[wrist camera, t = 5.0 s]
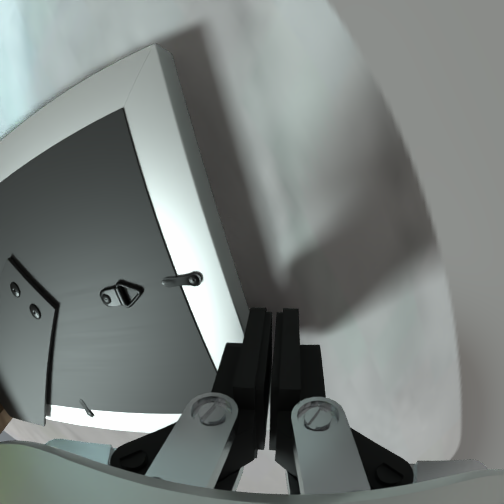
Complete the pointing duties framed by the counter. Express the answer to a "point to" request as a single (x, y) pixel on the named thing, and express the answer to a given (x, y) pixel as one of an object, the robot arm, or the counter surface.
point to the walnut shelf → (4, 418)
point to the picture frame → (112, 256)
